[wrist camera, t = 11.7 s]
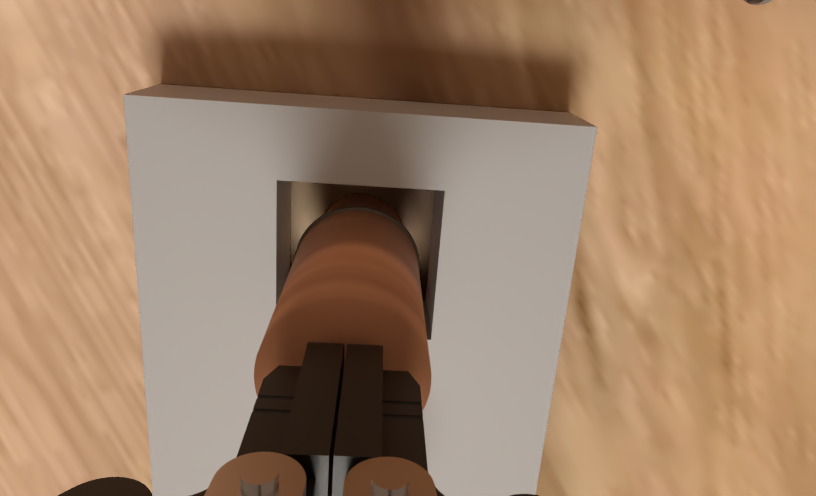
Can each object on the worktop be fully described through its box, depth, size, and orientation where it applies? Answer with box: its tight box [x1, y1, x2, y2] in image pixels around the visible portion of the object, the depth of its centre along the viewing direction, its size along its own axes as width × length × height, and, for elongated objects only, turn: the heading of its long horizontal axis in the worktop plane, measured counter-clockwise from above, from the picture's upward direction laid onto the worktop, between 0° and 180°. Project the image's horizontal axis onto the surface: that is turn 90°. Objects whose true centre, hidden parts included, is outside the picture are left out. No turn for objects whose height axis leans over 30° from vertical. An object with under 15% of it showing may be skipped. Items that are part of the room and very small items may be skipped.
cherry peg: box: [254, 194, 431, 411], centre depth 18 cm, size 4×4×10 cm
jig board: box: [124, 84, 597, 496], centre depth 19 cm, size 18×13×10 cm
